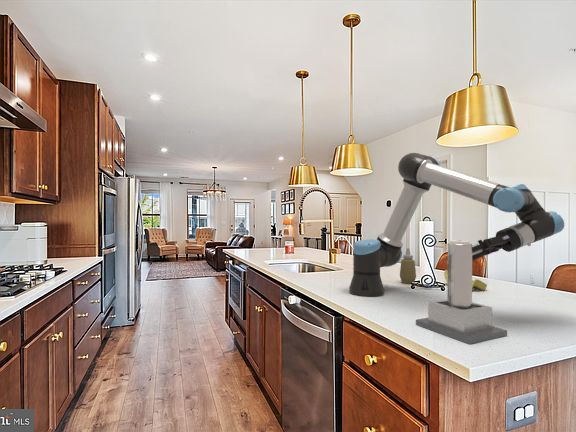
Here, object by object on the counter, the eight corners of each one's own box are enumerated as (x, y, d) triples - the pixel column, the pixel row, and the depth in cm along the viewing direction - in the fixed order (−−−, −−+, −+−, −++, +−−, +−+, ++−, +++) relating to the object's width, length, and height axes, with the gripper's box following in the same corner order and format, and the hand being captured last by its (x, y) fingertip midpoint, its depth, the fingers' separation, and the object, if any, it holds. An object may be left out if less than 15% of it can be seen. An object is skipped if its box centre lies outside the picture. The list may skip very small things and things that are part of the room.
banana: (489, 286, 154) (474, 277, 151) (483, 300, 154) (468, 292, 151) (456, 275, 173) (443, 268, 170) (451, 288, 173) (437, 281, 170)
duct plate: (415, 324, 103) (415, 300, 103) (451, 318, 110) (451, 295, 110) (469, 344, 86) (469, 315, 86) (507, 335, 93) (507, 309, 93)
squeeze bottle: (416, 282, 173) (416, 248, 173) (415, 285, 166) (415, 249, 166) (400, 281, 176) (400, 247, 177) (398, 283, 169) (399, 248, 169)
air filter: (475, 329, 94) (475, 241, 94) (450, 327, 95) (451, 240, 96) (467, 322, 101) (467, 239, 101) (444, 320, 102) (445, 239, 102)
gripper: (540, 234, 98) (473, 261, 98) (504, 257, 121) (449, 278, 121) (524, 213, 101) (459, 238, 101) (492, 239, 124) (439, 260, 124)
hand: (454, 260), depth 111 cm, fingers open, 13 cm apart
